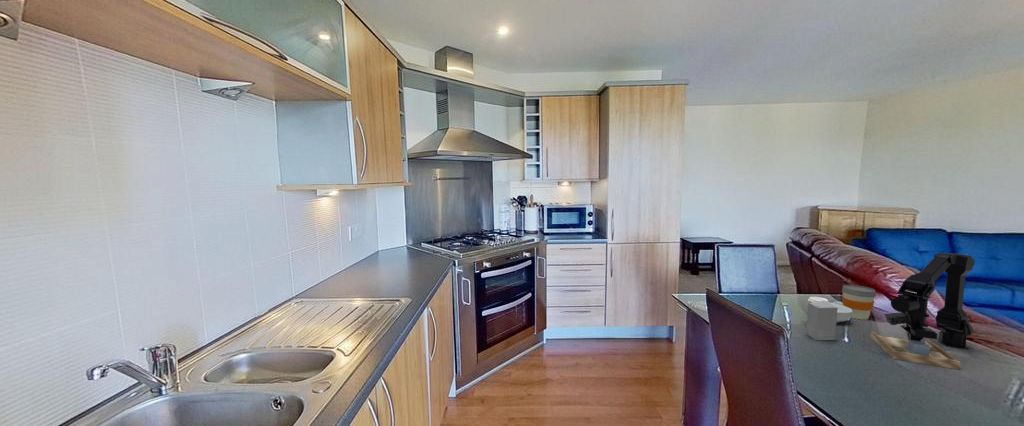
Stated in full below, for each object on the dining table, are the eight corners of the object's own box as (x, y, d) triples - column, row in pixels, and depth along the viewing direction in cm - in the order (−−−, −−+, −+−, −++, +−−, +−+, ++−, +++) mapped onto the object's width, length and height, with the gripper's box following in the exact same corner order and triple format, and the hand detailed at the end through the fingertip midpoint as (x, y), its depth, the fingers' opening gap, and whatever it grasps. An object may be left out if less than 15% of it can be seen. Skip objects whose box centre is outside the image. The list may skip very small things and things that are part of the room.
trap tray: (927, 345, 151) (928, 339, 151) (959, 369, 133) (960, 361, 132) (870, 337, 160) (871, 331, 160) (893, 358, 141) (893, 351, 141)
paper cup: (831, 330, 168) (833, 301, 167) (815, 330, 168) (817, 301, 167) (817, 323, 176) (819, 296, 175) (802, 323, 176) (803, 296, 175)
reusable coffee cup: (869, 314, 187) (871, 286, 185) (877, 322, 176) (879, 293, 175) (837, 310, 193) (839, 283, 192) (843, 317, 183) (845, 289, 181)
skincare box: (824, 334, 163) (826, 301, 162) (836, 341, 156) (839, 307, 155) (804, 334, 164) (806, 301, 163) (816, 341, 157) (818, 306, 156)
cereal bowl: (860, 327, 171) (861, 313, 170) (820, 325, 174) (821, 311, 174) (836, 314, 187) (837, 301, 187) (800, 312, 191) (801, 299, 190)
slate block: (922, 352, 143) (923, 341, 142) (929, 357, 139) (930, 346, 138) (907, 349, 145) (908, 339, 144) (912, 354, 141) (913, 343, 140)
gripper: (878, 299, 156) (875, 333, 157) (899, 313, 139) (895, 351, 141) (914, 303, 151) (911, 338, 152) (940, 318, 134) (936, 357, 136)
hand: (912, 346), depth 145 cm, fingers closed
